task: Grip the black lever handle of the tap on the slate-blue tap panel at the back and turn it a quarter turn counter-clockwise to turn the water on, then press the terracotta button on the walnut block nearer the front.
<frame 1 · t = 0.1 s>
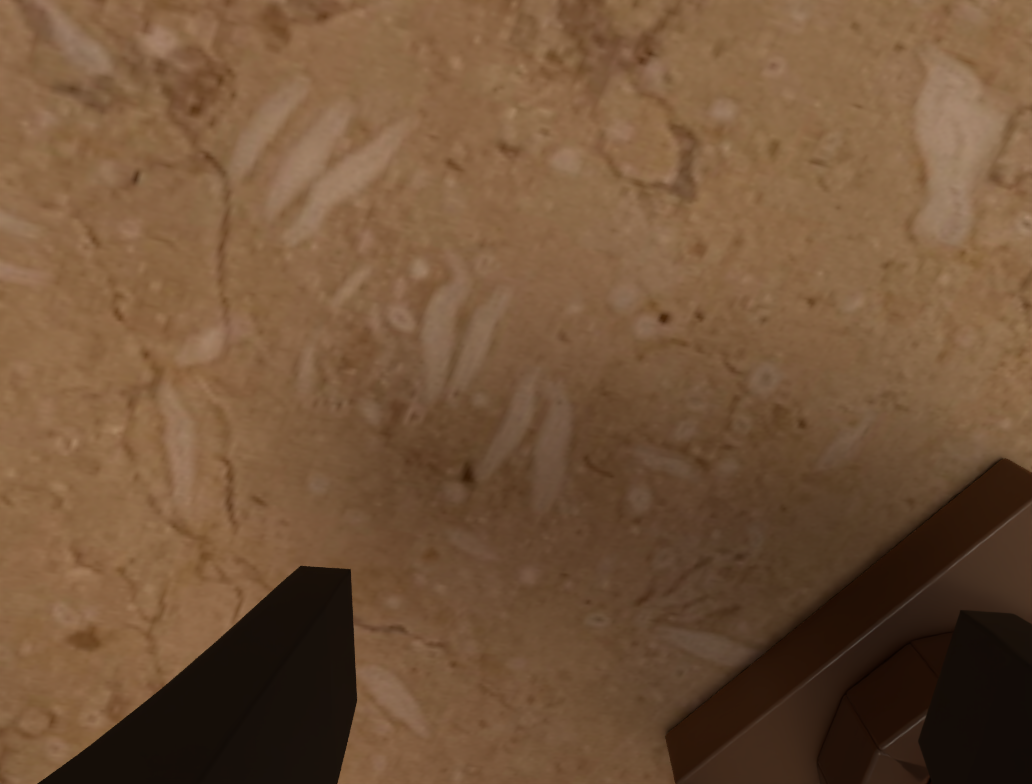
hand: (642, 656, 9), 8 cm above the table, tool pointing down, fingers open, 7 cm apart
button block: (936, 713, 18), on the table
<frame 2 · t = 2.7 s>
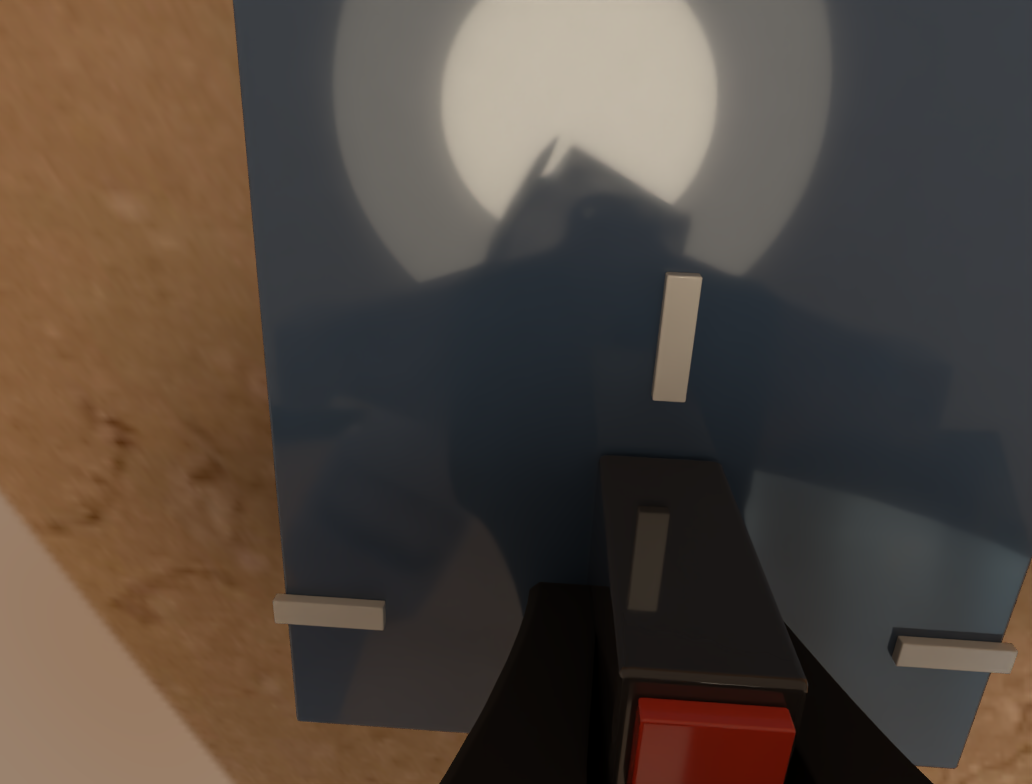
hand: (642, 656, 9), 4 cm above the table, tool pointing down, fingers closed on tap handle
tap panel: (655, 188, 11), on the table
tap handle: (654, 752, 8), point 5 cm above the table, hinge at 0.0°, touching gripper
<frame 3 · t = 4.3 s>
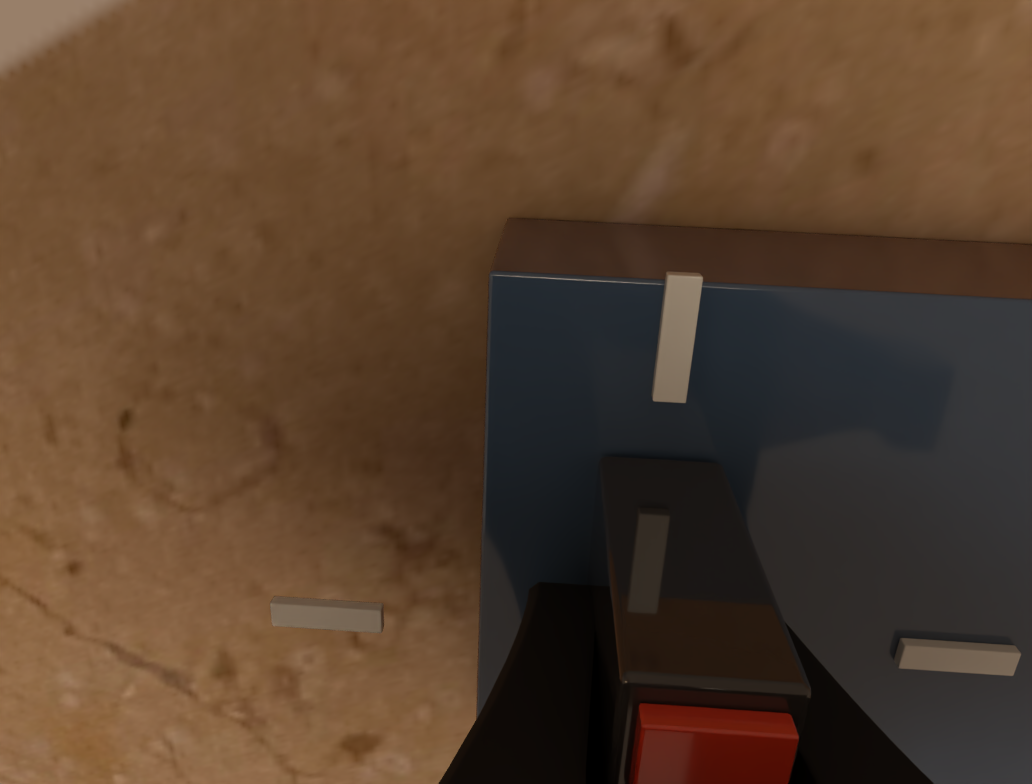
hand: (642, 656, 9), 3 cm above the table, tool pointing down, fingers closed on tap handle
tap panel: (936, 525, 12), on the table
tap handle: (654, 756, 8), point 5 cm above the table, hinge at 90.0°, touching gripper
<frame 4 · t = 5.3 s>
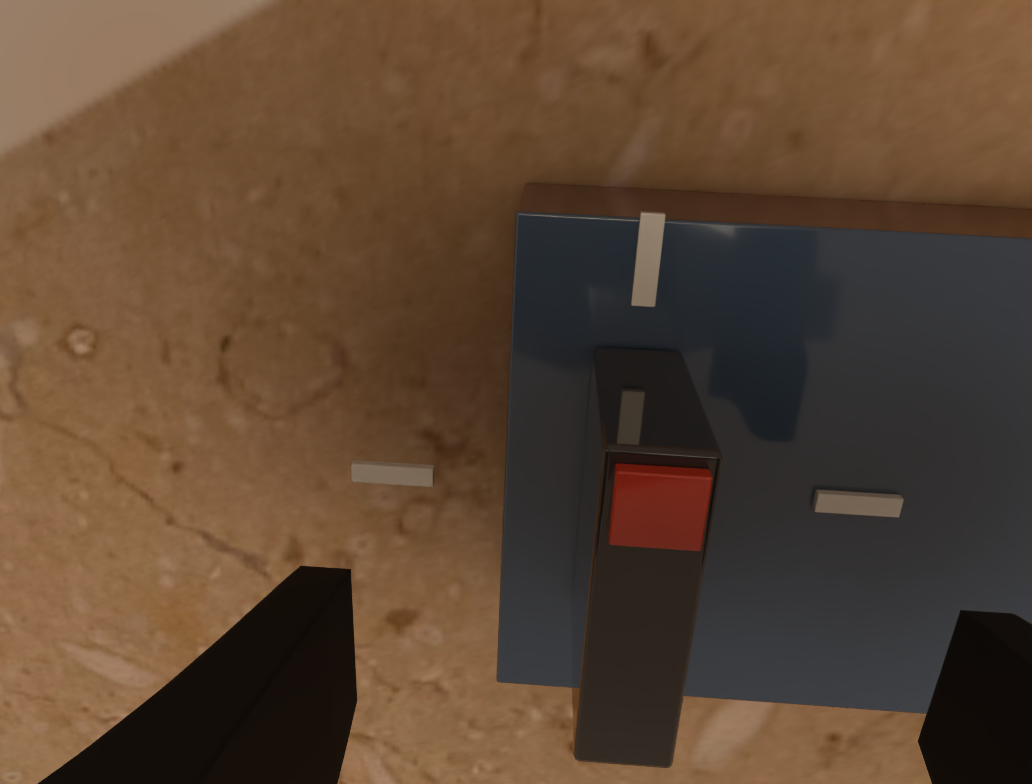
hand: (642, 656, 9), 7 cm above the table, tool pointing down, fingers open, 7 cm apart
tap panel: (860, 428, 16), on the table
tap handle: (631, 550, 12), point 5 cm above the table, hinge at 89.9°
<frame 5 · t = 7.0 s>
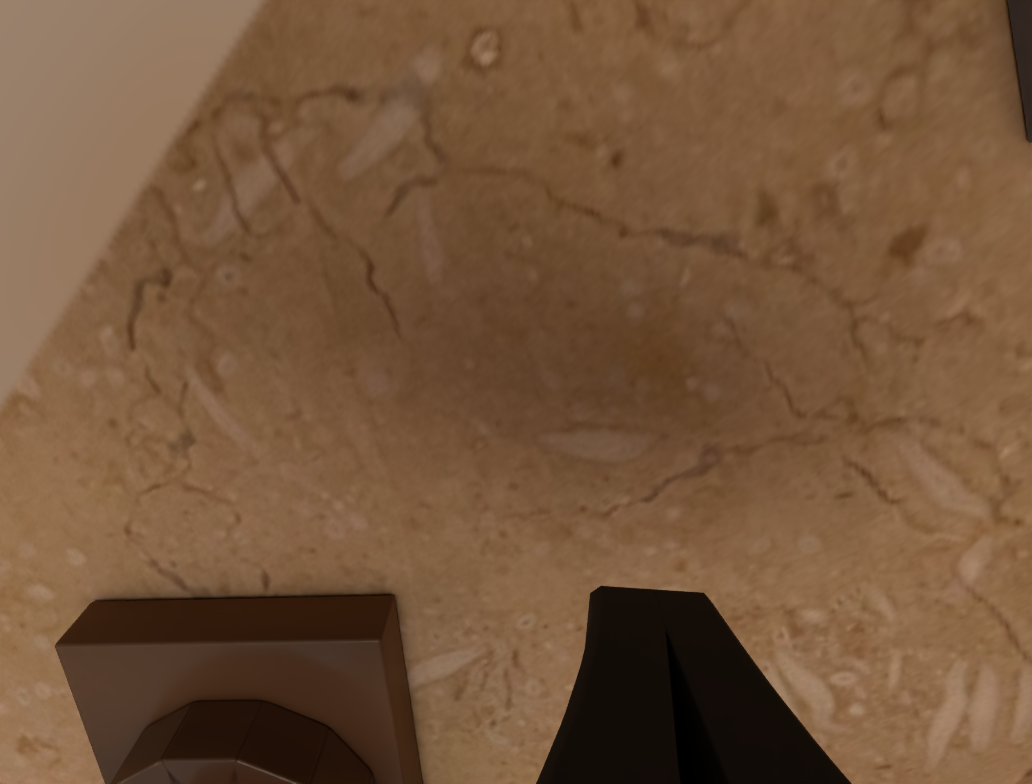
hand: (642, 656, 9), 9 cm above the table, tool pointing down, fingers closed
button block: (276, 743, 22), on the table
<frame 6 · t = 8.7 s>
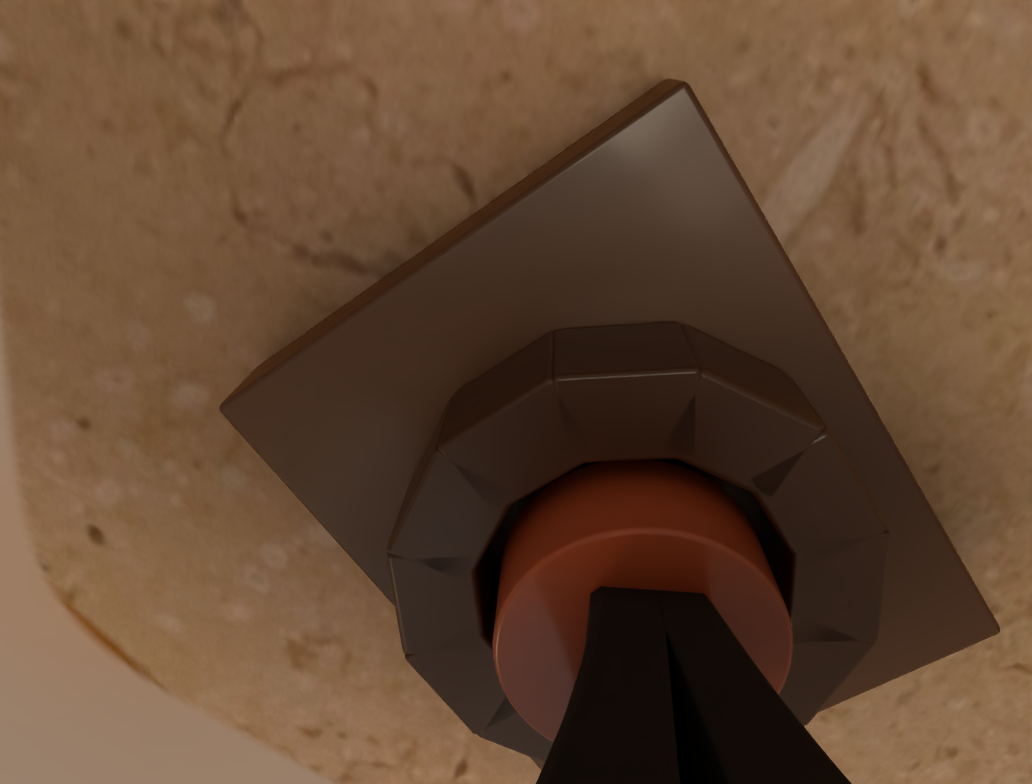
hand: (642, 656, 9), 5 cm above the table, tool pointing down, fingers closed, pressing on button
button: (635, 610, 10), point 4 cm above the table, slide at -0.2 cm, touching gripper
button block: (616, 471, 14), on the table
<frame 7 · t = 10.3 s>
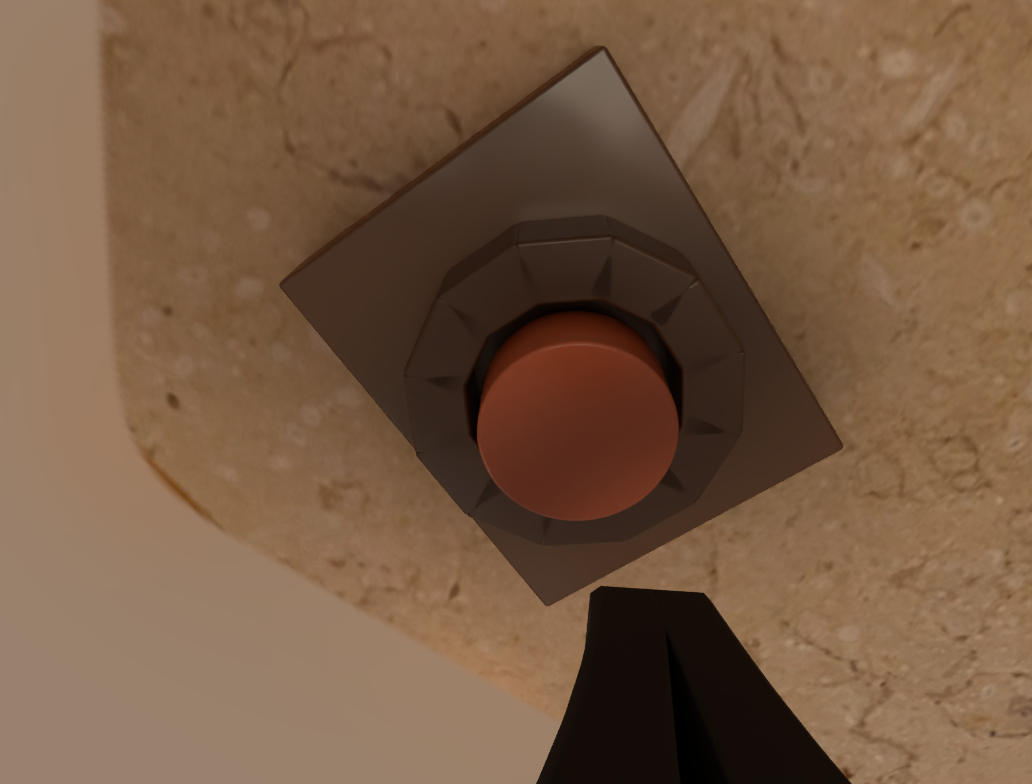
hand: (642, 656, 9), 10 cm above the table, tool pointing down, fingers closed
button: (575, 415, 15), point 4 cm above the table, slide at 0.1 cm
button block: (568, 342, 18), on the table
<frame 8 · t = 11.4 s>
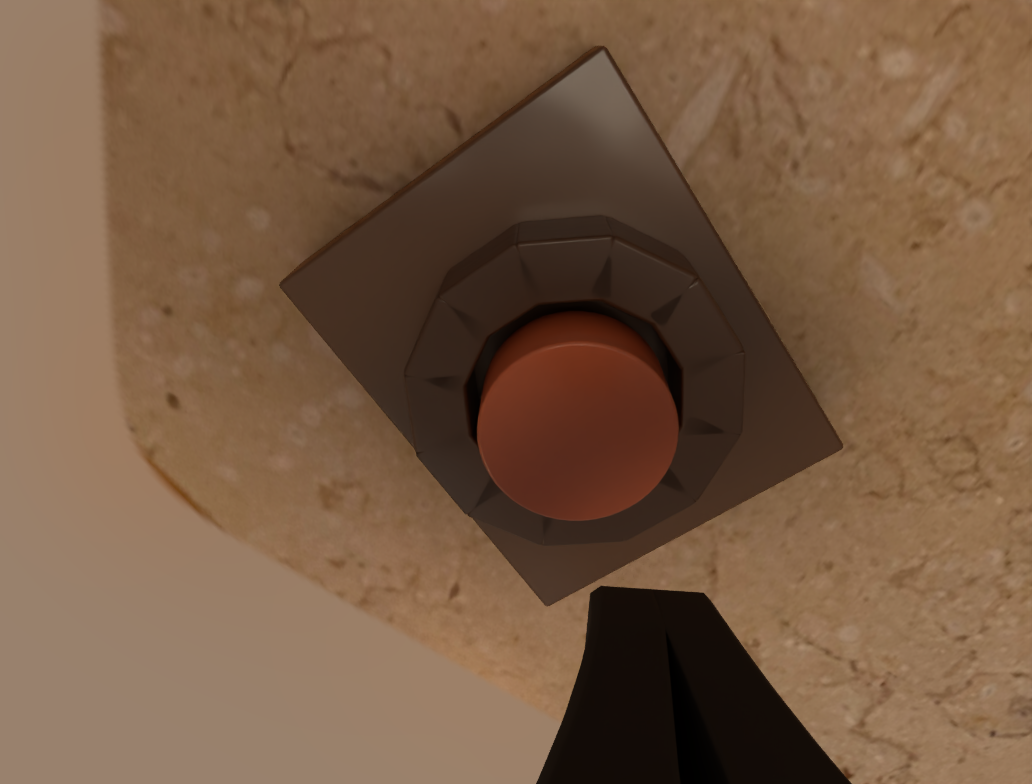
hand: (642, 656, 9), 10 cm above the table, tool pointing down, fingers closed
button: (575, 415, 15), point 4 cm above the table, slide at 0.1 cm
button block: (568, 342, 18), on the table
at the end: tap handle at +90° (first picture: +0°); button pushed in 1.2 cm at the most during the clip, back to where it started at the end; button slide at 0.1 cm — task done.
